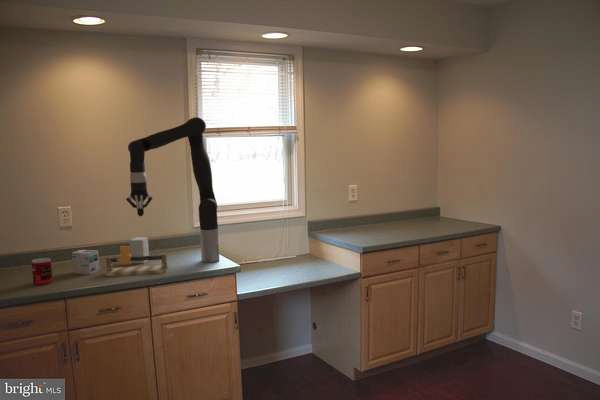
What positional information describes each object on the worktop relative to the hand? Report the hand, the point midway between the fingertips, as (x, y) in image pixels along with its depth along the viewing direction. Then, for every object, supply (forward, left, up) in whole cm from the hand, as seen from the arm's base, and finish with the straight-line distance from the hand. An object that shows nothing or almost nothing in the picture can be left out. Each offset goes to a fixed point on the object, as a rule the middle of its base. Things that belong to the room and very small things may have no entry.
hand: (140, 215), depth 244 cm
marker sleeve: (+7, +6, -22) cm, 24 cm away
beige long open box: (+2, +6, -27) cm, 27 cm away
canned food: (+42, +17, -27) cm, 53 cm away
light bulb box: (+27, +2, -27) cm, 38 cm away
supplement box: (+4, -14, -27) cm, 31 cm away
